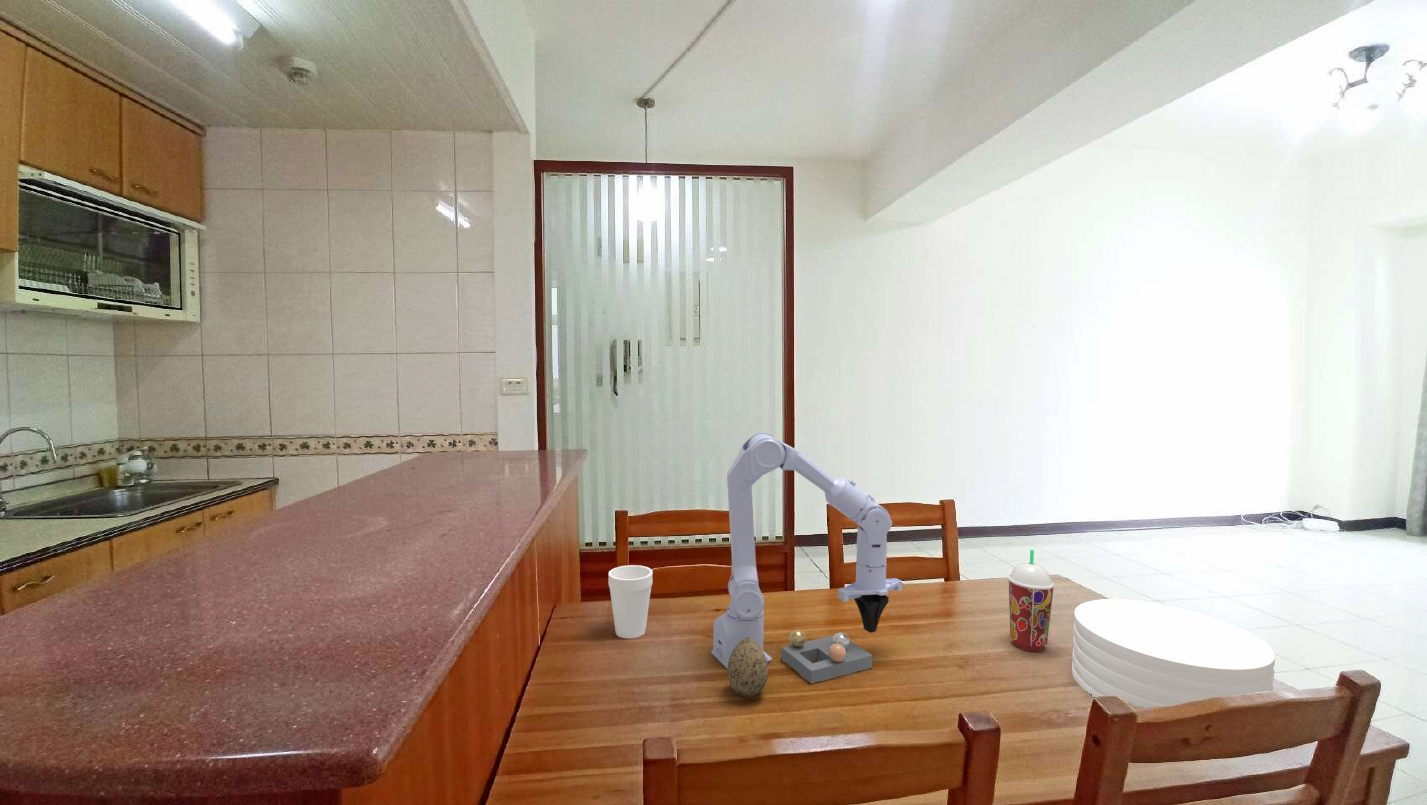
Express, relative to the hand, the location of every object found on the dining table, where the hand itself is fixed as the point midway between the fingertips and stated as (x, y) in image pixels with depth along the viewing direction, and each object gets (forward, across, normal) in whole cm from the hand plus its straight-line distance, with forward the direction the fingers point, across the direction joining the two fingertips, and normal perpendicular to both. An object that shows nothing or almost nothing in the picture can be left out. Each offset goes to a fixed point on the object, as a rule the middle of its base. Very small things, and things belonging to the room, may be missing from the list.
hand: (869, 630), depth 118 cm
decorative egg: (+5, -29, -2) cm, 30 cm away
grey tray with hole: (+5, -10, 0) cm, 11 cm away
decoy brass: (+1, -14, +4) cm, 15 cm away
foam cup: (+5, -40, +30) cm, 50 cm away
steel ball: (+1, -7, 0) cm, 7 cm away
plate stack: (+6, +39, -32) cm, 51 cm away
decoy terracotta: (+1, -11, -4) cm, 11 cm away
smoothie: (+5, +33, -10) cm, 35 cm away
